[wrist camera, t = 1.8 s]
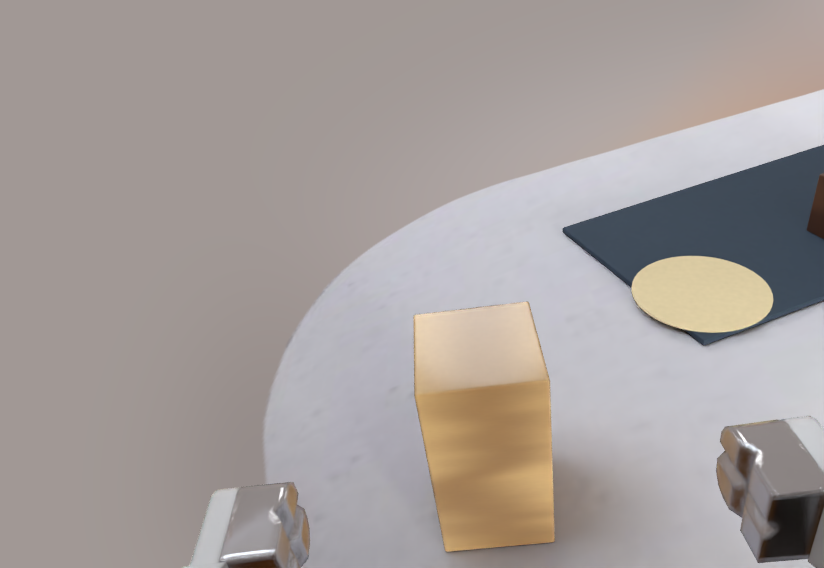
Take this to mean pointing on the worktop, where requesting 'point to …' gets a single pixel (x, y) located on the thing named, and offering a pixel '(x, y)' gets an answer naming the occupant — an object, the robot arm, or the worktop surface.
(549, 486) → the brass rectangular block
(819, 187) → the walnut block
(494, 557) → the worktop surface
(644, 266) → the pattern mat
